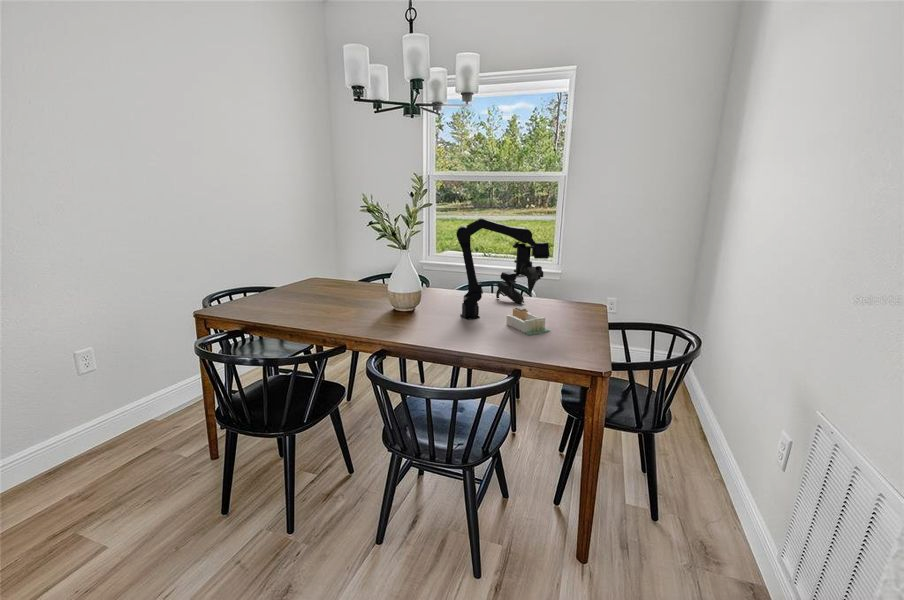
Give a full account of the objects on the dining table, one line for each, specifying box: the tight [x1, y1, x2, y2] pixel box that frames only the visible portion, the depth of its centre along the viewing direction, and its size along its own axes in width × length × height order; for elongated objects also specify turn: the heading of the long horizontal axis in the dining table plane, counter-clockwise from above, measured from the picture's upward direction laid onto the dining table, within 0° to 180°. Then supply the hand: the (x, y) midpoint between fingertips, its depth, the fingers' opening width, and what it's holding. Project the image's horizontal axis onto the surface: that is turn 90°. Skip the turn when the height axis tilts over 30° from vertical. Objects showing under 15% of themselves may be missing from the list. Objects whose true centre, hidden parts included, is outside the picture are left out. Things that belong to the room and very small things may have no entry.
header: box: [506, 311, 551, 336], centre depth 170 cm, size 11×15×5 cm
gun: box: [495, 281, 525, 305], centre depth 208 cm, size 3×16×10 cm, turn 53°
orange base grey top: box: [512, 305, 529, 321], centre depth 183 cm, size 4×5×5 cm
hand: (521, 294), depth 181 cm, fingers open, 9 cm apart
